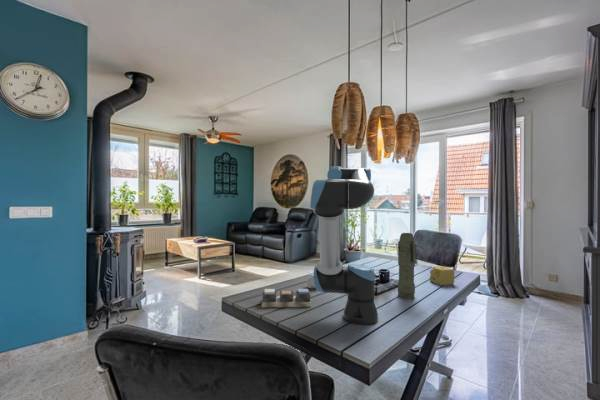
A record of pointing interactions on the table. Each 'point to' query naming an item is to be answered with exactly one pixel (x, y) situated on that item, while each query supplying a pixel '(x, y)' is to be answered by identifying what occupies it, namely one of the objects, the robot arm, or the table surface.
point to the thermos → (406, 266)
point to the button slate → (303, 291)
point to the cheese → (442, 275)
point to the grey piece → (286, 300)
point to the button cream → (269, 291)
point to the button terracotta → (286, 292)
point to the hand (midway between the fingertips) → (334, 236)
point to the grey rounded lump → (310, 281)
